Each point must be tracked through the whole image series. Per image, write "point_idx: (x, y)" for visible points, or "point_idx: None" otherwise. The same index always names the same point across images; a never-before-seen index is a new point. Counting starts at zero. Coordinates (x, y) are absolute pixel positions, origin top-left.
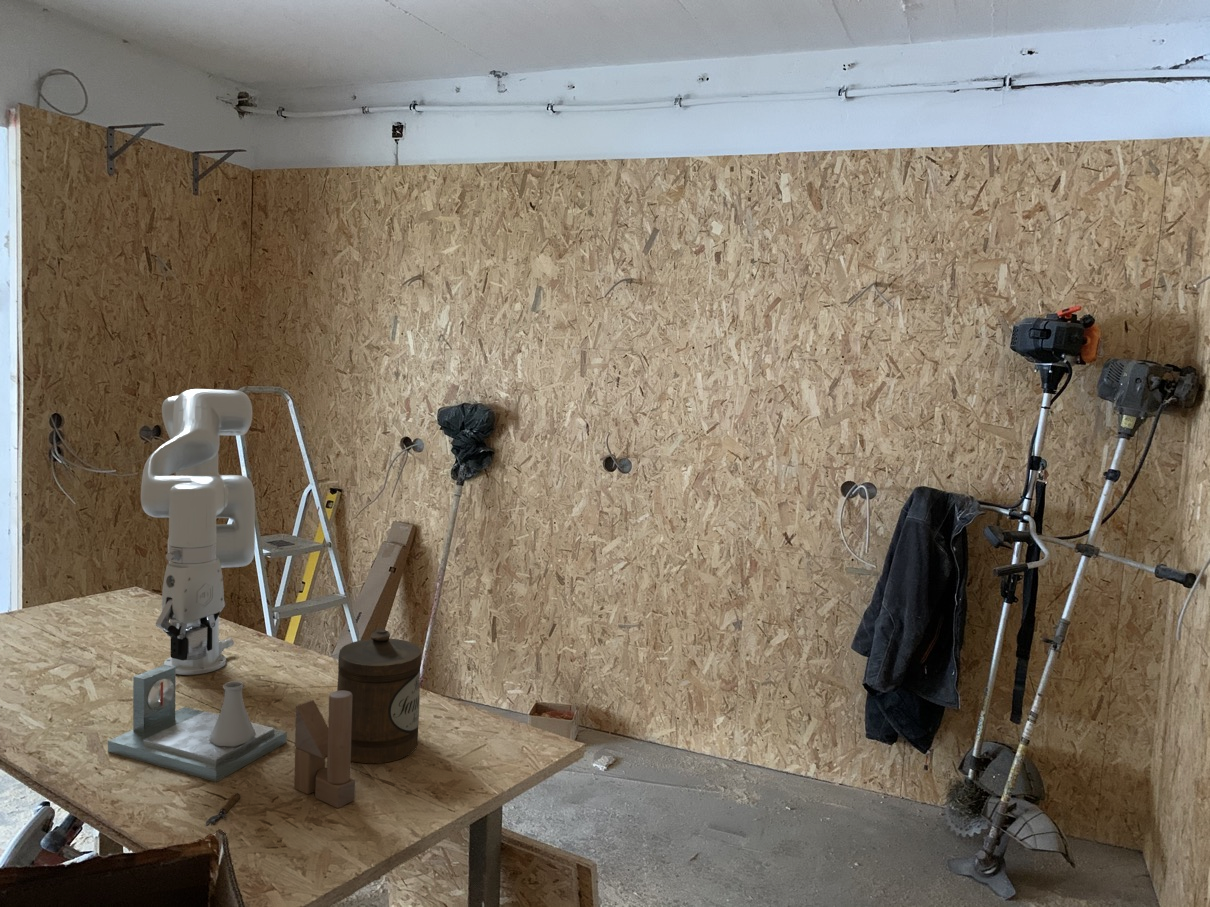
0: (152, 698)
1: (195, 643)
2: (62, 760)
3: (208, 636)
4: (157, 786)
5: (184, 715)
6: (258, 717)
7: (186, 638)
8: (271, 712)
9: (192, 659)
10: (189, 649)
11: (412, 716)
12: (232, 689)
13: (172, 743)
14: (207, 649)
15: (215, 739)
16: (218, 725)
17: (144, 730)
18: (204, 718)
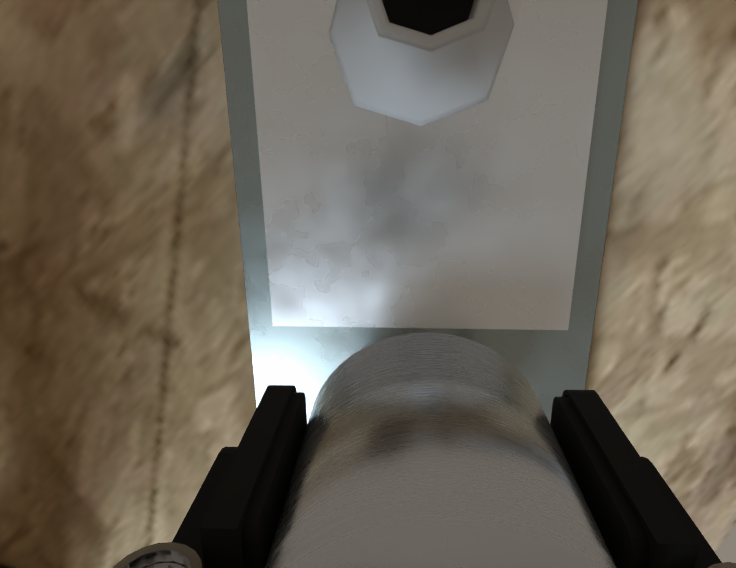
0: None
1: (529, 438)
2: (660, 473)
3: (273, 478)
4: (728, 91)
5: (311, 380)
6: (129, 202)
7: (666, 540)
8: (70, 193)
9: (513, 365)
10: (554, 437)
11: None
12: None
13: (556, 215)
14: (304, 402)
15: (502, 50)
16: (487, 50)
17: None
18: (323, 281)
